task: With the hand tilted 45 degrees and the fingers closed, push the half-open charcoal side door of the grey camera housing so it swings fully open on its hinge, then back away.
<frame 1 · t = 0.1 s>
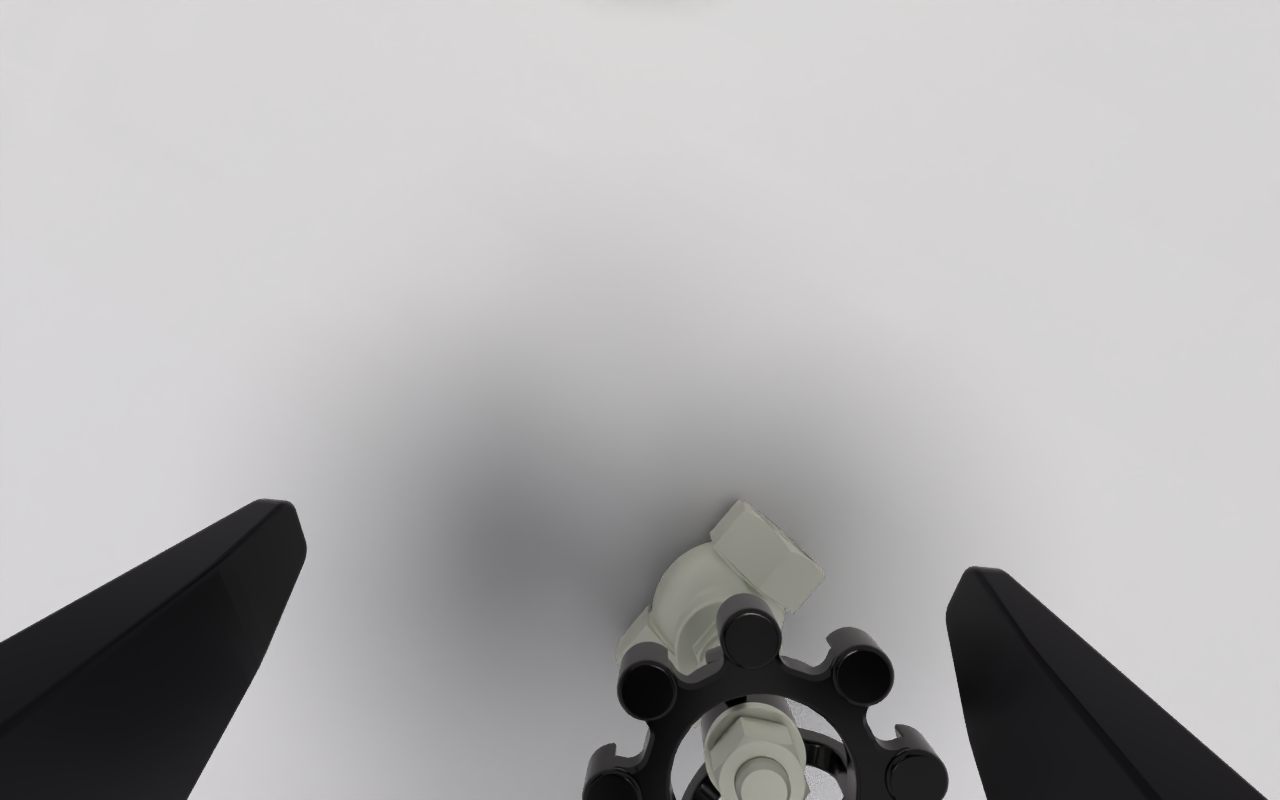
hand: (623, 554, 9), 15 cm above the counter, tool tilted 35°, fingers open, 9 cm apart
valve: (712, 588, 24), on the counter
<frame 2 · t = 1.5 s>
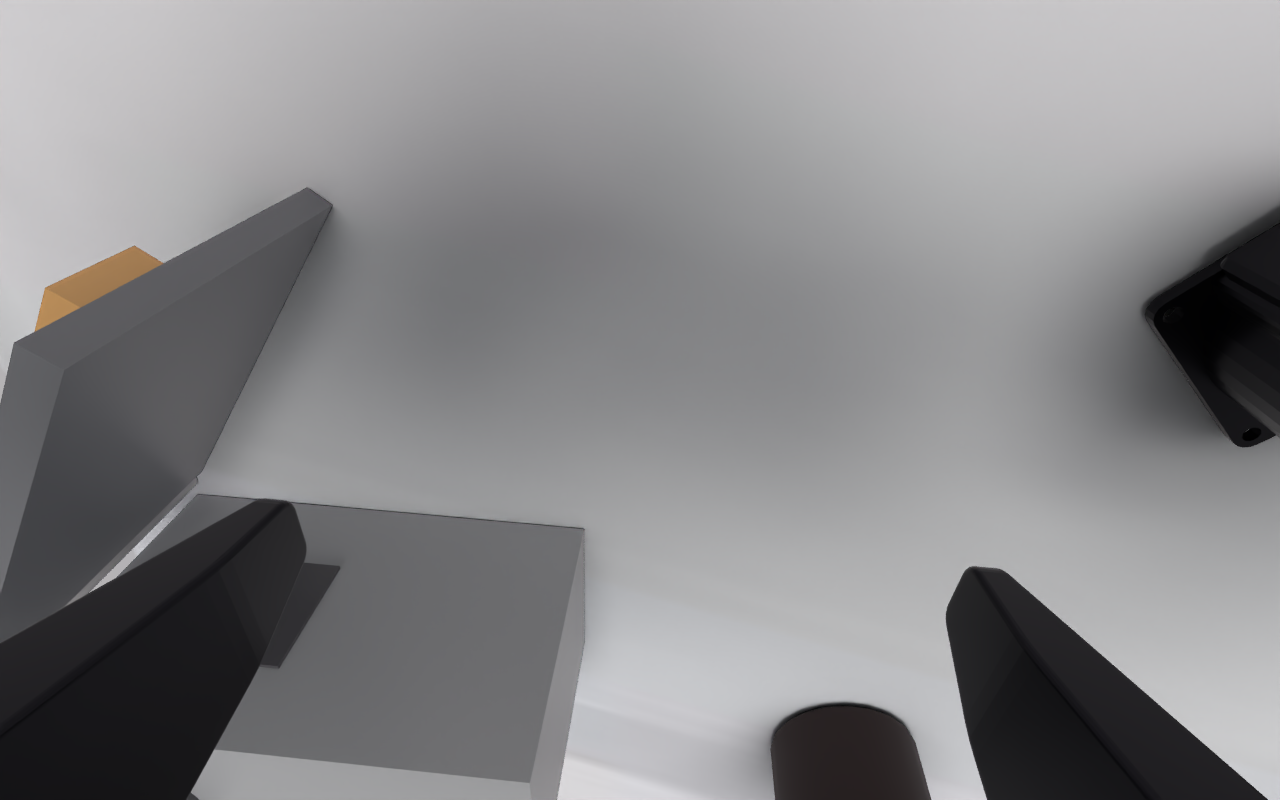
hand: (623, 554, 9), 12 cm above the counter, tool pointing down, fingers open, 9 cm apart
bottle: (839, 738, 32), on the counter
side door: (119, 435, 18), point 5 cm above the counter, hinge at 55.0°
camera housing: (402, 573, 27), on the counter
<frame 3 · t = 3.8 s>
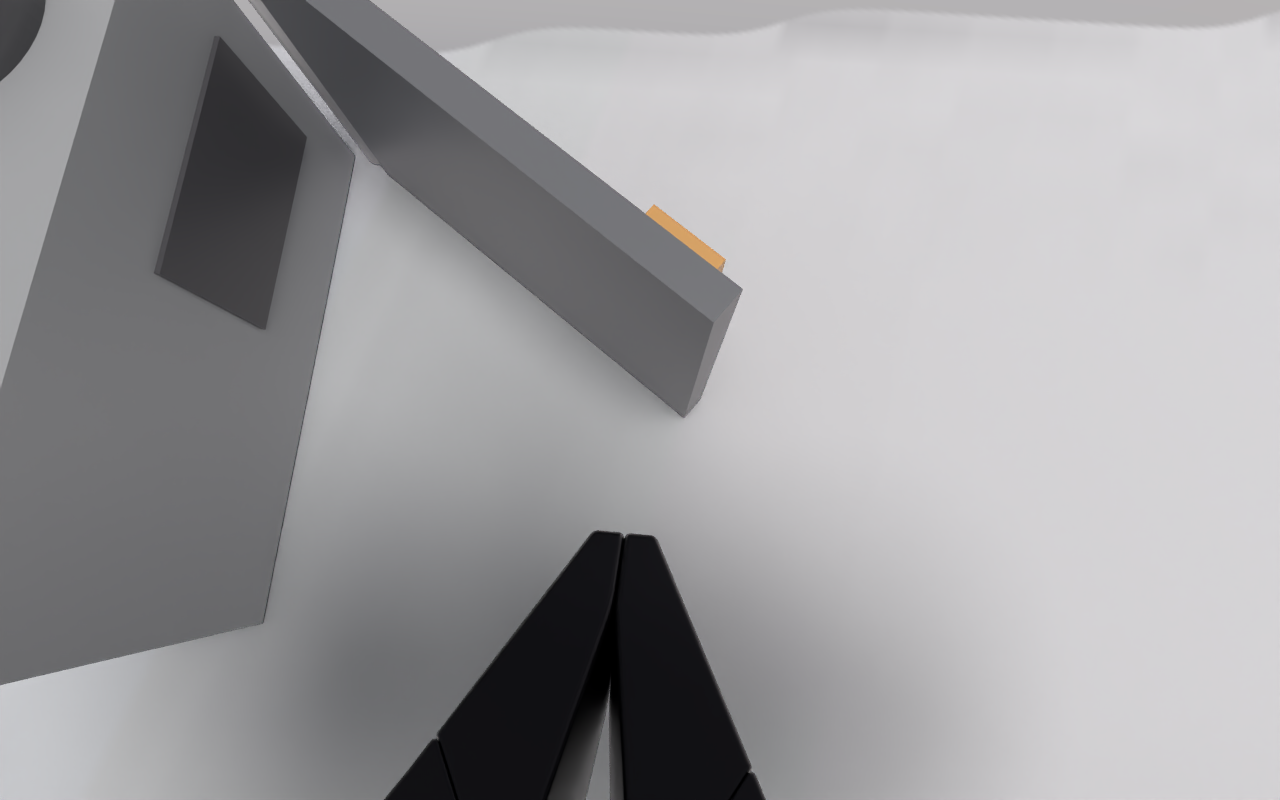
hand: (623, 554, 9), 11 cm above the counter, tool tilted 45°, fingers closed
side door: (504, 183, 17), point 5 cm above the counter, hinge at 55.0°
camera housing: (206, 363, 21), on the counter
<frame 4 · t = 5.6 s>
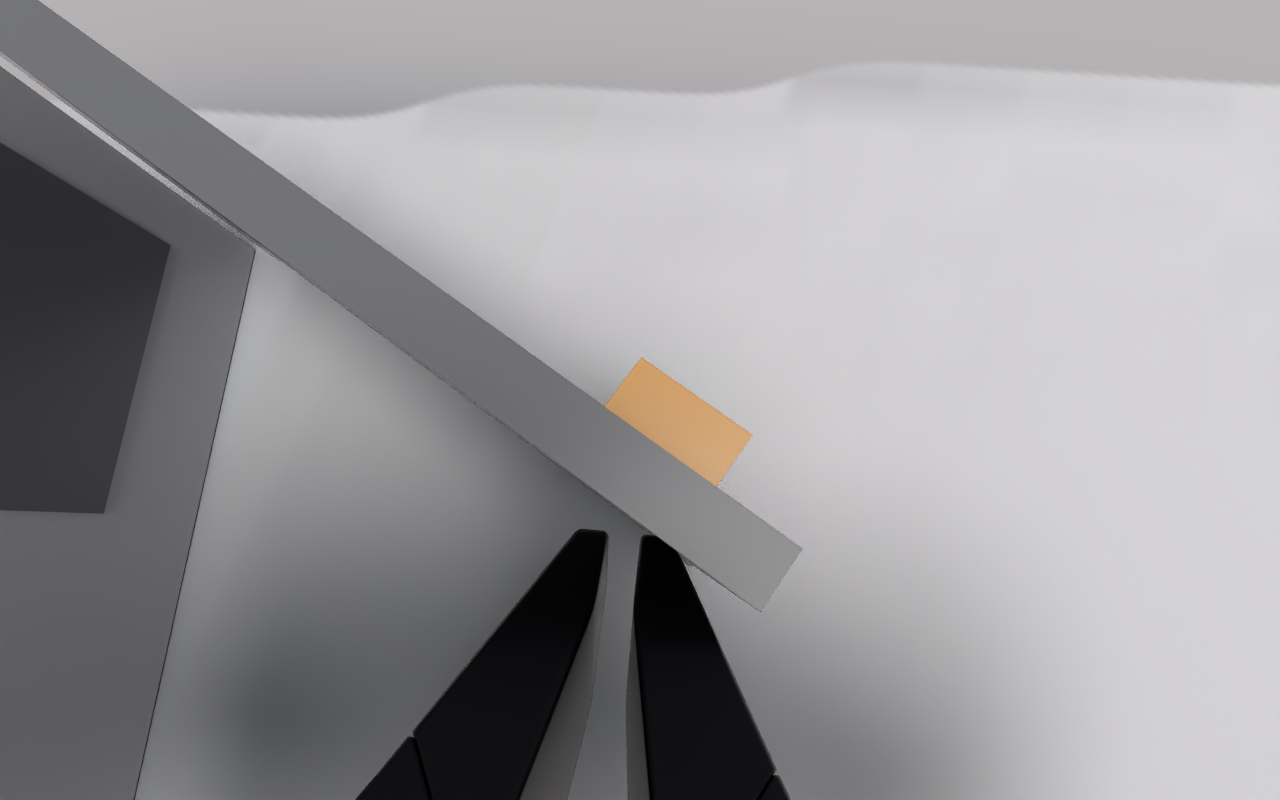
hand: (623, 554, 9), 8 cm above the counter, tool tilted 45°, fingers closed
side door: (432, 308, 12), point 5 cm above the counter, hinge at 59.1°, touching gripper
camera housing: (56, 524, 16), on the counter
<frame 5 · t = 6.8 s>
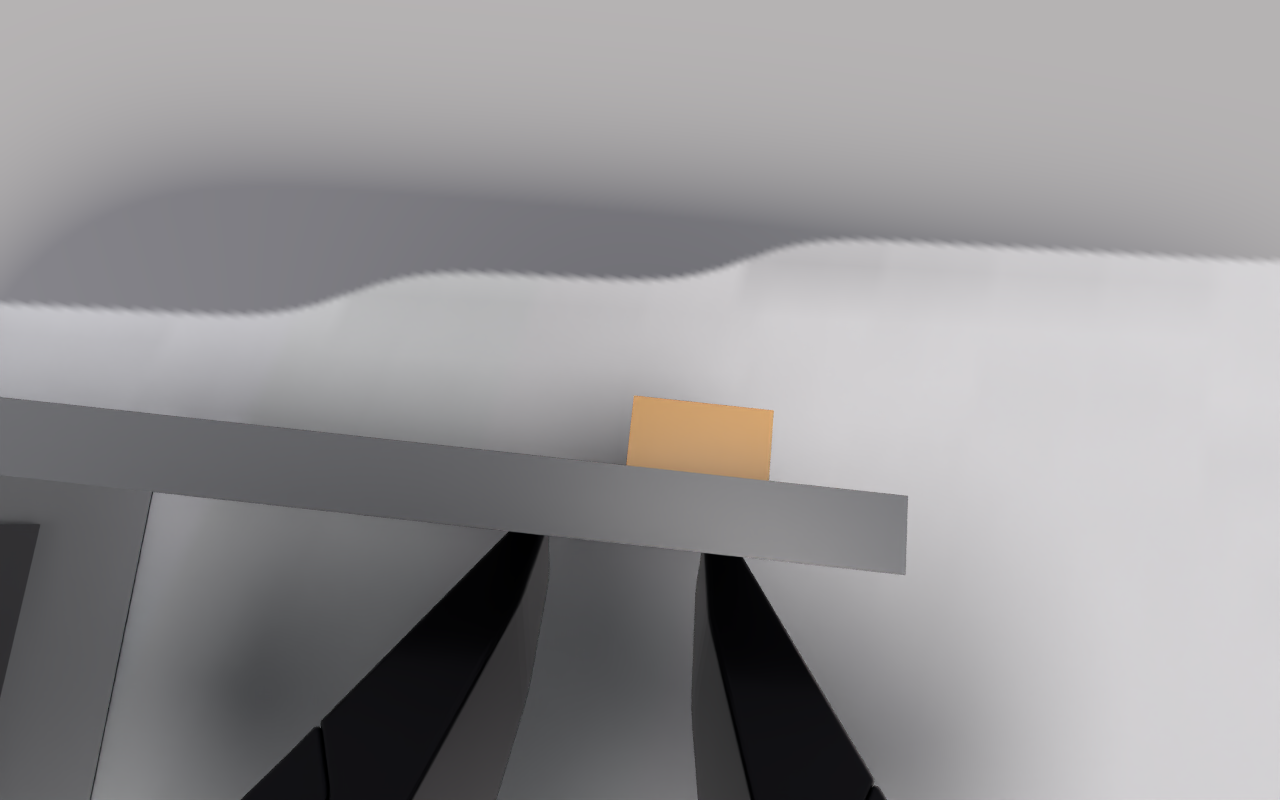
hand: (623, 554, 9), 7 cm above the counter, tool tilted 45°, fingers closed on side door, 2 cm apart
side door: (392, 453, 12), point 5 cm above the counter, hinge at 87.4°, touching gripper
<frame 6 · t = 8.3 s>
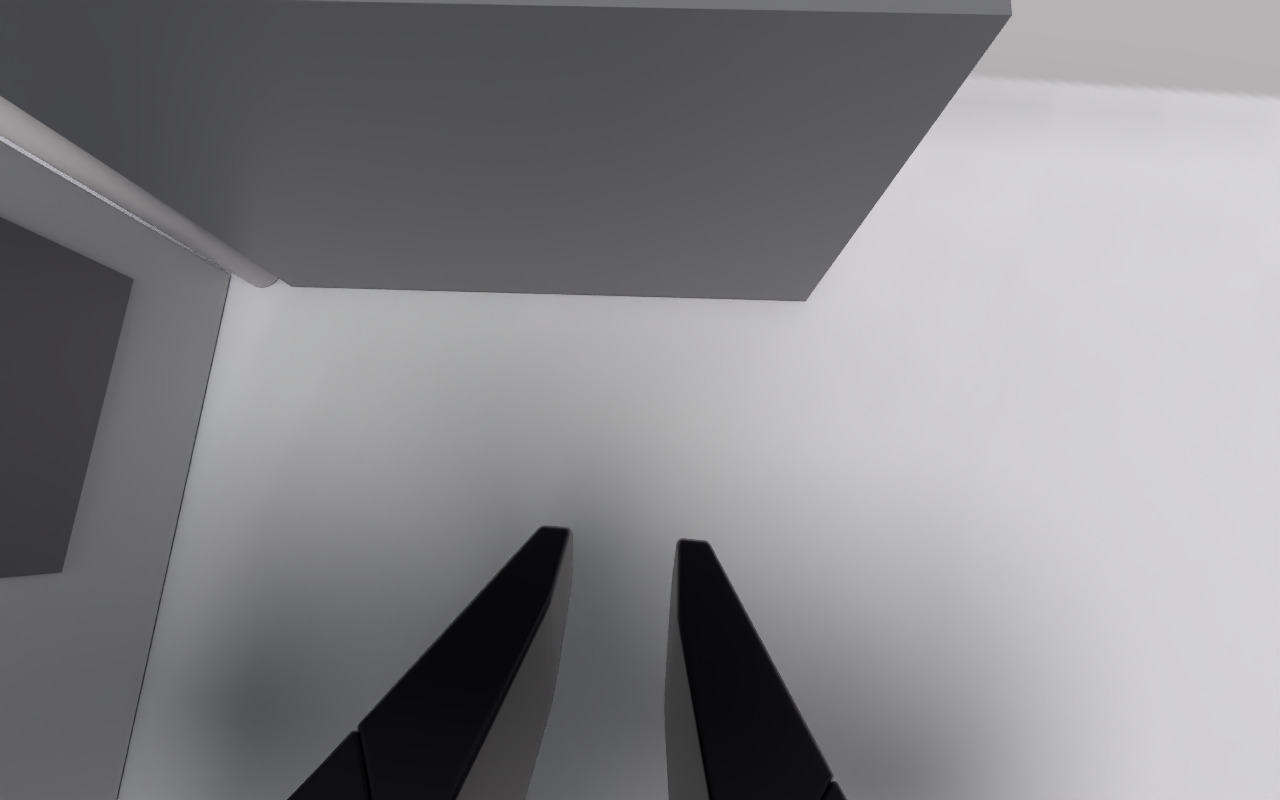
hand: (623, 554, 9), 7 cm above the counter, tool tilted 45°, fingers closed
side door: (477, 155, 12), point 5 cm above the counter, hinge at 93.4°
camera housing: (20, 569, 16), on the counter
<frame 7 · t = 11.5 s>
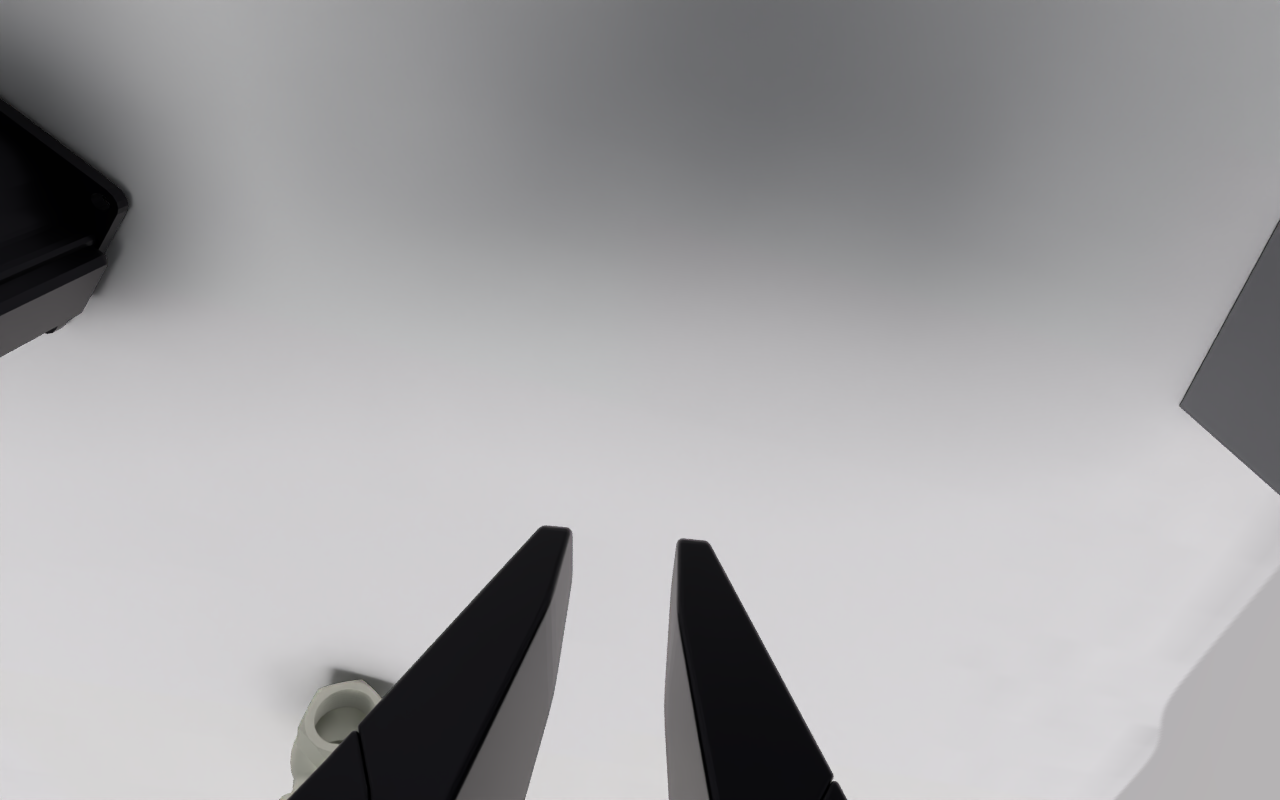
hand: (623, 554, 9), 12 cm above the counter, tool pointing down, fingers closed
valve: (359, 706, 34), on the counter
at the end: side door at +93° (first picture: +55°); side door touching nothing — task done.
